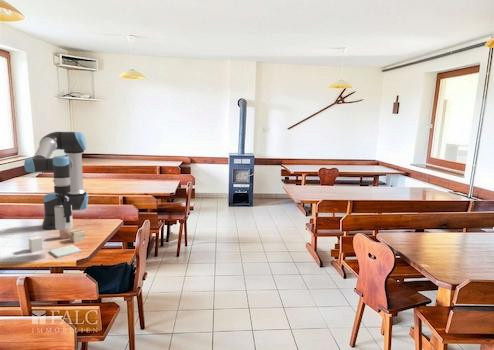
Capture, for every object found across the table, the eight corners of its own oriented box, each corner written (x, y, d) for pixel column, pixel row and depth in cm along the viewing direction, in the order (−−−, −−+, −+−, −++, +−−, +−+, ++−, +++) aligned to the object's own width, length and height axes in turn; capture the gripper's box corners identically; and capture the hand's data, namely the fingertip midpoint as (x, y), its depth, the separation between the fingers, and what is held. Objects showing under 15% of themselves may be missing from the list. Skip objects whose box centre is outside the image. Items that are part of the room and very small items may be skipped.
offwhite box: (29, 250, 176) (28, 237, 175) (39, 247, 180) (38, 235, 179) (32, 252, 173) (31, 240, 172) (42, 250, 177) (41, 237, 176)
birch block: (70, 240, 193) (69, 230, 192) (80, 238, 197) (80, 228, 196) (74, 243, 189) (74, 233, 188) (84, 240, 193) (84, 231, 192)
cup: (65, 230, 168) (64, 208, 166) (51, 229, 170) (50, 207, 168) (76, 226, 176) (75, 205, 174) (63, 224, 178) (62, 204, 176)
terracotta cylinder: (58, 237, 196) (57, 225, 195) (68, 235, 201) (67, 223, 200) (63, 239, 193) (62, 226, 192) (73, 237, 198) (72, 224, 197)
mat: (49, 251, 174) (49, 250, 174) (72, 246, 183) (72, 244, 183) (57, 258, 167) (57, 256, 166) (81, 251, 176) (81, 250, 176)
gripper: (47, 183, 173) (49, 223, 177) (62, 188, 160) (64, 232, 163) (62, 181, 179) (64, 221, 182) (78, 187, 166) (79, 229, 169)
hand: (64, 226), depth 173 cm, fingers closed on cup, 8 cm apart
